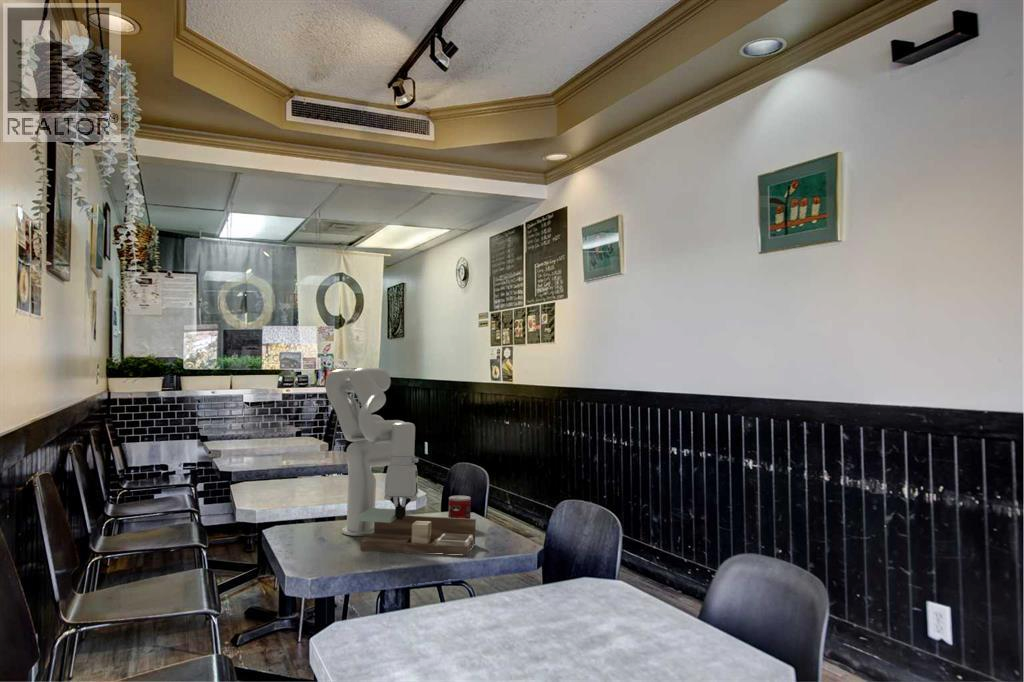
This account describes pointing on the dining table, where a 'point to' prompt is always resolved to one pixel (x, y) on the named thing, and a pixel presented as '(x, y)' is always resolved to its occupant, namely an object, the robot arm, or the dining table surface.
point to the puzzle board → (398, 537)
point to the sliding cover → (377, 515)
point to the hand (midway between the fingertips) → (400, 518)
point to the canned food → (459, 507)
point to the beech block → (421, 532)
